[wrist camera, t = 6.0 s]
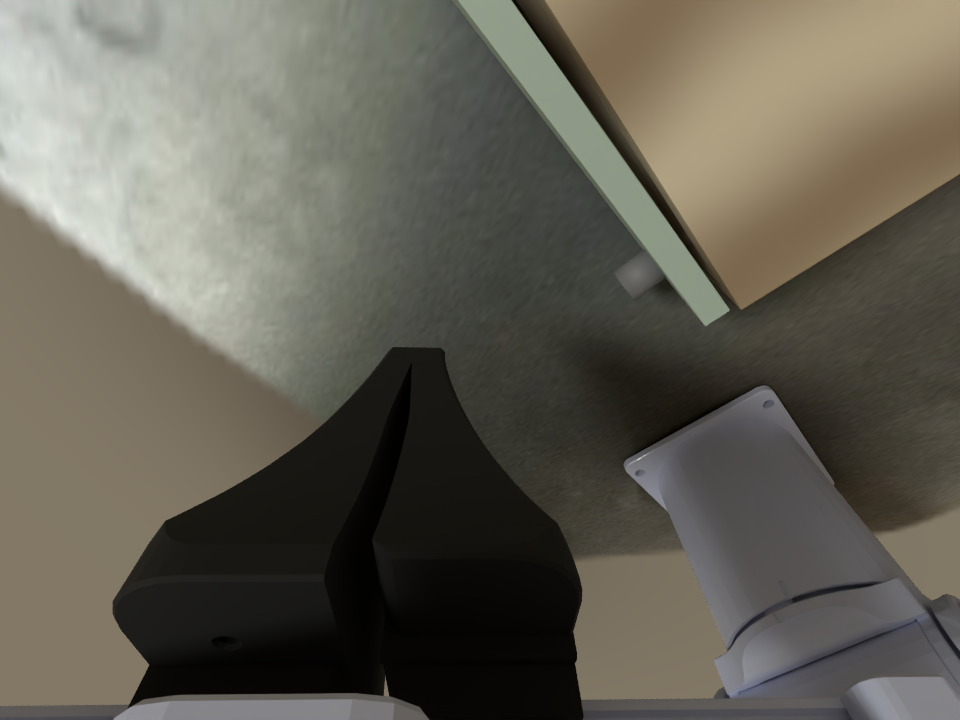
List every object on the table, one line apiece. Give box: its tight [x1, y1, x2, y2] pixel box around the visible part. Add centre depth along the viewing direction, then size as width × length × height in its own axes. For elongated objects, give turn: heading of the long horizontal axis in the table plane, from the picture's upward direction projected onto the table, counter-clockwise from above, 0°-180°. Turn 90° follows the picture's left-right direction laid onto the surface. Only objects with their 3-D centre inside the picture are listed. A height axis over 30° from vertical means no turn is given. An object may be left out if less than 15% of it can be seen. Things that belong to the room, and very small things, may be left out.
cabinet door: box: [452, 0, 730, 326], centre depth 13 cm, size 14×2×5 cm, turn 43°
